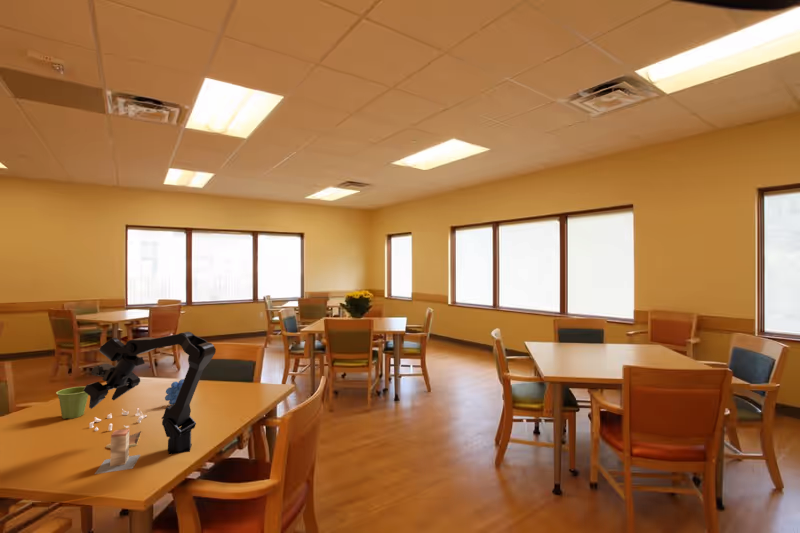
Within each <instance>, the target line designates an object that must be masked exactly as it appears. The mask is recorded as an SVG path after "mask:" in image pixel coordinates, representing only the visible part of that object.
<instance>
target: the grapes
mask: <svg viewBox="0 0 800 533" xmlns="http://www.w3.org/2000/svg"><path fill="white" fill-rule="evenodd" d="M184 379H185V378H182V379H180V380H179V381H173V382H172V383H171V384H170V387H168V388H166V390H165V394H166V395H165V397H164V400H165V401H168V404H169V406H171V405H173V404H175V402H176V399H177V396H178V394H179V391H180V389H181V386H182V384H183V381H184Z"/></svg>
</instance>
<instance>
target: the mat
mask: <svg viewBox="0 0 800 533" xmlns="http://www.w3.org/2000/svg"><path fill="white" fill-rule="evenodd" d="M140 457H141V454H136V455H129V459H128V460H127V462H126V464H123V465H116V466H110V458H107V459H104V460H103V462H102V463H101V464H100V466H99V467H98V468H97V470H96V471H95V473H94V475H98V474H106V473H111V472H118V471H126V470H131V469H134V468H135V465H136V464H137V462H138V461H139V458H140Z"/></svg>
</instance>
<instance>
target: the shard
mask: <svg viewBox="0 0 800 533" xmlns="http://www.w3.org/2000/svg"><path fill="white" fill-rule="evenodd" d="M141 433H142V431H141V430H140V431H138V432H135V433H132V434H129V448H132V447H133V448H134V447H137V446H138V444H139V440H140V438H141ZM105 448H106V449H107V448H108V449H111V442H109V443H108V444H106V446H105Z"/></svg>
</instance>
